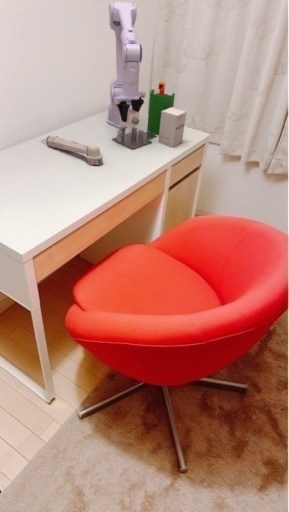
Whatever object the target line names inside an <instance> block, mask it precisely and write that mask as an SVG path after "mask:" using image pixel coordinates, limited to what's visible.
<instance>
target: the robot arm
mask: <svg viewBox="0 0 289 512" xmlns="http://www.w3.org/2000/svg"><path fill="white" fill-rule="evenodd" d="M137 10H138V9H137V4H136V2H135V1H134V2H126V1H125V2H124V1H114V0H113V1H112V0H110V2H109V6H108V15H109V28H110V29H111V30H112V31H114V35H115V54H116V55H115V58H116V59H115V61H116V78H114V79H113V80H112V81H111V82H110V85H109V86H110V87H109V98H110V99H109V100H110V102H109V105H108V106H107V107H108V110H107V111H108V113H107V114H108V116H107V117H108V118H107V119H108V120H107V121H106V123H107V124H109V125H112V126H114V127H116V128H119V129H120V127H122V126H123V125H121V124H120V115H121V120H122V121H123V122H126V121H127V113H128V109H132V110H135V111H137V112H139V113H140V110H141V108H142V106H143V104H145V100H144V98H145V99H146V96H147V92H145V91H143V90H141V91H139V84H140V82H139V81H140V69H141V68H140V65H141V63H142V61H143V45H142V43H140V41H139V39H138V34H137V31H136V29H135V28H134V27H135V23H136V21H137V16H138V15H137ZM124 127H125V126H124ZM126 128H127V127H125V129H126Z"/></svg>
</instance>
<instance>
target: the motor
mask: <svg viewBox="0 0 289 512" xmlns="http://www.w3.org/2000/svg"><path fill="white" fill-rule="evenodd" d="M165 87H166V83H165V82H161V81H160V82H159V83H158V90H159V92H158V93H155V89H150V91H149V100H148V112H147V124H146V125H147V127H146V130H147V132H149V133H151V134H153V135H156V136H159V130H160V121H161V112H162V111H163V110H166V109H168V108H171V107H173V108H174V104H175V98H176V97H175V96H176V93H175V92H173V93H172V94H166V93H165Z"/></svg>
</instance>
